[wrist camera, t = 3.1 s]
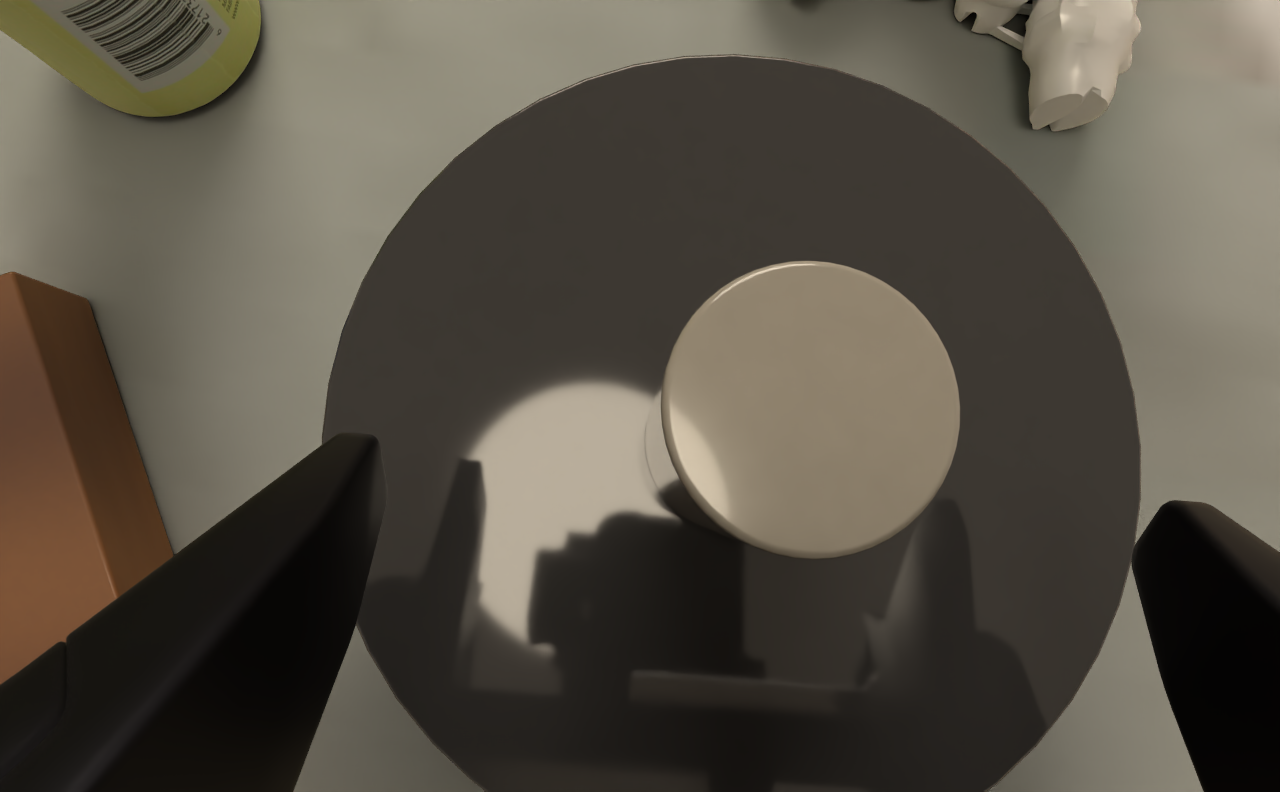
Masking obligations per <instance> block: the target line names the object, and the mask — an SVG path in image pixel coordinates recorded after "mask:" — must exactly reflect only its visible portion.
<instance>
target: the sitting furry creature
mask: <svg viewBox="0 0 1280 792" xmlns="http://www.w3.org/2000/svg"><path fill="white" fill-rule="evenodd" d="M1027 1H1029V0H956V3H955V8H954V14H955V18H956V19H957V20H958V21H959V22H961V21H962V20H963V19H965V18H966V17H967V16H968V15H970V14H971V13H972V12H975V13H976V14H977V18H976V20H975V23H974V25H973V28H972V30H971V31H973V32H976V33H980V34H983V33H989V34H991V35H993V36H995V37H997V38H998V39H1000V40H1002V41H1004V42H1006V43H1008V44H1010V45H1012V46H1014V47H1015V48H1017V49H1019V50H1021V51H1022V55H1023V56H1022V59H1023V60H1024V62H1025V63H1026V64H1027V66H1028V67H1029V68H1030V74H1031V77H1030V84H1029V92H1028V97H1029V119H1030V122H1031V124H1032V127H1033V129H1037V130H1039V129H1041V128H1043V127H1045V126H1047V125H1050V128H1051V131H1056V132H1057V131H1060V130H1064V129H1069V128H1074V127H1077V126H1080V125H1083V124H1086V123H1089V122H1091V121H1093V120H1095V119H1097V118H1098V117H1100V116H1101V115H1102V114H1103V113H1104V112H1105V111H1106V110H1107V109H1108V106H1109V104H1110V102H1111V100H1112V98H1113V96H1114V94H1115V89H1116V83H1117V77H1118V75H1119V74H1121V73H1123V72H1125V71H1127V70H1128V69H1129V67H1130V66H1131V62H1132V43H1133V41H1134V40H1135V39H1136V37H1137V36H1138V34H1139V33H1140V31H1141V23H1140V21H1139V19H1138V17H1137V15H1136V14H1135V11H1136V6H1137V0H1032V3H1033V4H1026V3H1025V2H1027ZM1017 13H1018V14H1025V15H1030V17H1029V19H1028V20H1027V22H1026V23H1025V26H1026V34H1025V37H1023V36H1021V35H1019V34H1017V33H1014V32H1012V31H1010V30H1008V29H1006V28H1004V27H1002V26H1003V25H1005V24H1006V23H1007V22H1009V21H1010V20H1011V19H1012V18H1013V17H1014V16H1015V15H1016V14H1017Z"/></svg>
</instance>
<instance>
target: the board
mask: <svg viewBox="0 0 1280 792" xmlns="http://www.w3.org/2000/svg"><path fill="white" fill-rule="evenodd" d="M173 556H174V555H173V552H172V549H171V546H170V543H169V540H168V537H167V534H166V531H165V528H164V525H163V522H162V519H161V516H160V513H159V510H158V507H157V505H156V502H155V499H154V496H153V493H152V490H151V487H150V484H149V481H148V478H147V475H146V472H145V469H144V466H143V463H142V460H141V457H140V454H139V451H138V448H137V445H136V442H135V439H134V436H133V433H132V430H131V427H130V424H129V421H128V418H127V415H126V412H125V409H124V406H123V403H122V400H121V397H120V394H119V391H118V388H117V385H116V382H115V379H114V376H113V373H112V370H111V367H110V364H109V361H108V358H107V355H106V352H105V349H104V346H103V343H102V340H101V337H100V334H99V331H98V328H97V325H96V322H95V319H94V316H93V313H92V310H91V307H90V304H89V301H88V300H87V299H86V298H84V297H81V296H78V295H76V294H73V293H70V292H67V291H65V290H62V289H59V288H56V287H54V286H51V285H48V284H46V283H43V282H40V281H37V280H35V279H32V278H29V277H26V276H24V275H21V274H18V273H16V272H8V273H6V274H3V275H0V684H2V683H3V682H5V681H6V680H7V679H9V678H10V677H12V676H13V675H14V674H16V673H17V672H19V671H20V670H21V669H23V668H24V667H25V666H27V665H28V664H29V663H31V662H32V661H33V660H35V659H36V658H37V657H39V656H40V655H41V654H43V653H44V652H45V651H47V650H48V649H49V648H51V647H52V646H54V645H55V644H56V643H58V642H60V641H62V642H66V638H67V636H68V635H69V634H70V633H71V632H73V631H74V630H75V629H77V628H78V627H79V626H81V625H82V624H83V623H85V622H86V621H87V620H89V619H90V618H91V617H93V616H94V615H95V614H97V613H98V612H99V611H101V610H102V609H103V608H105V607H106V606H107V605H109V604H110V603H111V602H113V601H114V600H115V599H117V598H118V597H119V596H121V595H122V594H123V593H125V592H126V591H127V590H129V589H130V588H131V587H133V586H134V585H136V584H137V583H138V582H140V581H141V580H142V579H144V578H145V577H146V576H148V575H149V574H150V573H152V572H153V571H154V570H156V569H157V568H158V567H160V566H161V565H162V564H164V563H165V562H166V561H168V560H169V559H170V558H172V557H173Z"/></svg>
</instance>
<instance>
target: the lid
mask: <svg viewBox="0 0 1280 792" xmlns="http://www.w3.org/2000/svg"><path fill="white" fill-rule="evenodd" d="M343 432H348V433H360V434H371V435H373V436H375V437H376V438H377V439H378V441H379V444H380V448H381V454H382V460H383V466H384V472H385V478H386V484H387V501H386V507H385V511H384V515H383V519H382V523H381V527H380V531H379V535H378V539H377V543H376V547H375V551H374V555H373V559H372V563H371V567H370V571H369V575H368V579H367V583H366V587H365V591H364V595H363V599H362V603H361V607H360V611H359V615H358V618H357V622H356V625H357V627H358V630H359V632H360V634H361V637H362V639H363V641H364V644H365V646H366V648H367V651H368V652H369V654H370V656H371V657H372V659H373V661H374V662H375V664H376V666H377V667H378V669H379V670H380V672H381V674H382V675H383V677H384V679H385V680H386V682H387V684H388V685H389V687H390V689H391V690H392V692H393V694H394V695H395V697H396V699H397V700H398V701H399V703H400V704H401V705H402V706H403V707H404V709H405V710H406V711H407V712H408V714H409V715H410V716H411V717H412V719H413V720H414V721H415V722H416V724H417V725H418V726H419V727H420V729H421V730H422V731H423V732H424V734H425V735H426V736H427V737H428V739H429V740H430V741H431V742H432V744H434V745H435V746H436V747H437V748H438V749H439V750H440V751H441V752H442V753H443V754H444V755H445V756H446V757H447V758H448V759H449V760H450V761H452V762H453V763H454V764H455V765H456V766H457V767H458V768H459V769H460V770H461V771H462V772H463V773H464V774H465V775H466V776H467V777H468V778H469V779H471V780H472V781H473V782H474V783H475V784H476V785H478V786H479V787H481V788H482V789H483V790H485V791H486V792H986V791H988V790H989V789H990V788H992V787H993V786H995V785H996V784H997V783H998V782H999V781H1000V780H1001V779H1003V778H1004V777H1005V776H1006V775H1007V774H1008V773H1009V772H1010V771H1011V770H1012V769H1013V768H1014V767H1015V766H1016V765H1017V764H1018V763H1019V762H1020V761H1021V760H1022V759H1023V758H1024V757H1025V756H1026V755H1027V754H1028V753H1029V752H1030V751H1032V750H1033V749H1034V748H1035V747H1036V746H1037V745H1038V743H1039V742H1040V741H1041V740H1042V738H1043V737H1044V736H1045V734H1046V733H1047V732H1048V731H1049V729H1050V728H1051V727H1052V726H1053V724H1054V723H1055V722H1056V720H1057V719H1058V718H1059V717H1060V715H1061V714H1062V713H1063V712H1064V710H1065V709H1066V708H1067V706H1068V705H1069V704H1070V703H1071V701H1072V699H1073V698H1074V696H1075V694H1076V693H1077V691H1078V689H1079V688H1080V686H1081V684H1082V682H1083V681H1084V679H1085V677H1086V676H1087V674H1088V672H1089V670H1090V669H1091V667H1092V665H1093V664H1094V662H1095V660H1096V659H1097V657H1098V655H1099V653H1100V650H1101V648H1102V646H1103V643H1104V641H1105V638H1106V636H1107V634H1108V631H1109V629H1110V627H1111V624H1112V622H1113V619H1114V617H1115V615H1116V612H1117V610H1118V607H1119V605H1120V601H1121V598H1122V594H1123V590H1124V587H1125V583H1126V579H1127V575H1128V572H1129V568H1130V564H1131V559H1132V552H1133V549H1134V546H1135V538H1136V531H1137V523H1138V516H1139V508H1140V500H1141V444H1140V436H1139V429H1138V421H1137V413H1136V405H1135V398H1134V391H1133V388H1132V384H1131V380H1130V376H1129V372H1128V368H1127V365H1126V361H1125V357H1124V353H1123V349H1122V345H1121V342H1120V339H1119V337H1118V334H1117V332H1116V329H1115V327H1114V324H1113V322H1112V319H1111V317H1110V314H1109V312H1108V309H1107V307H1106V304H1105V302H1104V299H1103V297H1102V294H1101V292H1100V290H1099V289H1098V287H1097V285H1096V283H1095V281H1094V280H1093V278H1092V276H1091V274H1090V272H1089V271H1088V269H1087V267H1086V265H1085V263H1084V261H1083V260H1082V258H1081V256H1080V254H1079V252H1078V251H1077V249H1076V247H1075V246H1074V244H1073V243H1072V242H1071V240H1070V239H1069V238H1068V236H1067V235H1066V233H1065V232H1064V231H1063V229H1062V228H1061V227H1060V225H1059V224H1058V222H1057V221H1056V220H1055V218H1054V217H1053V216H1052V214H1051V213H1050V211H1049V210H1048V209H1047V207H1046V206H1045V205H1044V204H1043V203H1042V202H1041V201H1040V200H1039V198H1038V197H1037V196H1036V195H1035V194H1034V193H1033V192H1032V191H1031V190H1030V189H1029V188H1028V187H1027V186H1026V185H1025V184H1024V182H1023V181H1022V180H1021V179H1020V178H1019V177H1018V176H1017V175H1016V174H1015V173H1014V172H1013V171H1012V170H1011V169H1010V168H1009V167H1008V166H1007V165H1006V164H1005V163H1003V162H1002V161H1001V160H1000V159H999V158H997V157H996V156H995V155H994V154H993V153H991V152H990V151H989V150H988V149H987V148H985V147H984V146H983V145H982V144H981V143H979V142H978V141H977V140H976V139H975V138H973V137H972V136H971V135H970V134H968V133H966V132H965V131H963V130H962V129H960V128H959V127H957V126H956V125H954V124H953V123H951V122H949V121H948V120H946V119H945V118H943V117H942V116H940V115H939V114H937V113H936V112H934V111H932V110H931V109H929V108H928V107H926V106H924V105H922V104H920V103H917V102H915V101H913V100H911V99H909V98H907V97H905V96H903V95H901V94H899V93H897V92H895V91H893V90H891V89H889V88H887V87H885V86H882V85H880V84H877V83H874V82H871V81H868V80H865V79H862V78H859V77H856V76H853V75H850V74H848V73H845V72H842V71H839V70H836V69H832V68H827V67H823V66H818V65H813V64H808V63H803V62H799V61H794V60H789V59H784V58H772V57H760V56H748V55H736V54H730V55H705V56H683V57H677V58H671V59H665V60H659V61H653V62H647V63H641V64H635V65H631V66H628V67H624V68H621V69H618V70H614V71H611V72H607V73H604V74H601V75H597V76H594V77H591V78H587V79H584V80H582V81H580V82H578V83H575V84H573V85H571V86H569V87H566V88H564V89H562V90H560V91H557V92H555V93H553V94H550V95H548V96H546V97H544V98H541V99H539V100H537V101H536V102H534V103H532V104H531V105H529V106H527V107H526V108H524V109H522V110H521V111H519V112H517V113H516V114H514V115H513V116H511V117H509V118H508V119H506V120H504V121H503V122H501V123H499V124H498V125H496V126H495V127H493V128H492V129H491V130H489V131H488V132H487V133H486V134H484V135H483V136H482V137H481V138H479V139H478V140H477V141H476V142H474V143H473V144H472V145H470V146H469V147H468V148H467V149H465V150H464V151H463V152H462V153H460V154H459V155H458V156H457V157H455V158H454V159H453V160H452V161H451V162H450V163H449V164H448V165H447V167H446V168H445V169H444V170H443V171H442V172H441V173H440V174H439V175H438V176H437V177H436V178H435V179H434V180H433V181H432V182H431V183H430V184H429V185H428V186H427V187H426V188H425V189H424V190H423V191H422V192H421V193H420V194H419V195H418V197H417V198H416V199H415V201H414V202H413V203H412V205H411V206H410V207H409V209H408V210H407V211H406V213H405V214H404V215H403V217H402V218H401V219H400V221H399V222H398V223H397V225H396V226H395V227H394V229H393V230H392V231H391V233H390V234H389V235H388V237H387V239H386V240H385V242H384V244H383V246H382V247H381V249H380V251H379V253H378V254H377V256H376V258H375V260H374V262H373V263H372V265H371V267H370V269H369V270H368V272H367V274H366V276H365V277H364V279H363V281H362V283H361V285H360V288H359V290H358V293H357V295H356V298H355V300H354V303H353V305H352V308H351V310H350V313H349V315H348V318H347V320H346V322H345V325H344V327H343V330H342V333H341V337H340V341H339V345H338V348H337V352H336V356H335V360H334V364H333V368H332V372H331V375H330V379H329V383H328V391H327V400H326V408H325V416H324V424H323V432H322V445H323V444H324V443H325V442H327V441H328V440H329V439H331V438H332V437H333V436H335V435H337V434H339V433H343Z"/></svg>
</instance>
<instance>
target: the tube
mask: <svg viewBox="0 0 1280 792" xmlns="http://www.w3.org/2000/svg"><path fill="white" fill-rule="evenodd" d="M260 26H261V11H260V4H259V0H0V30H1V31H3V32H4V33H6V34H7V35H8V36H10V37H11V38H12V39H14V40H15V41H17V42H18V43H19V44H21V45H22V46H24V47H25V48H26V49H28V50H29V51H30V52H32V53H33V54H34V55H36V56H37V57H38V58H40V59H41V60H42V61H44V62H45V63H46V64H48V65H49V66H50V67H52V68H53V69H54V70H56V71H57V72H59V73H60V74H61V75H63V76H64V77H65V78H67V79H68V80H70V81H71V82H72V83H74V84H75V85H76V86H78V87H79V88H81V89H82V90H84V91H85V92H87V93H88V94H89V95H91V96H92V97H94V98H95V99H97V100H98V101H100V102H102V103H104V104H105V105H107V106H109V107H111V108H114V109H116V110H118V111H122V112H125V113H129V114H133V115H138V116H146V117H159V116H172V115H177V114H180V113H183V112H187V111H190V110H193V109H195V108H198V107H200V106H203V105H205V104H207V103H209V102H210V101H212V100H214V99H215V98H216V97H218V96H219V95H221V94H222V93H223V92H225V91H226V90H227V89H228V88H229V87H230V86H231V85H232V84H233V83H234V82H235V81H236V80H237V79H238V77H239V76H240V75H241V73H242V72H243V71H244V69H245V68H246V66H247V64H248V63H249V61H250V59H251V57H252V55H253V52H254V50H255V48H256V45H257V42H258V39H259V34H260Z"/></svg>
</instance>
